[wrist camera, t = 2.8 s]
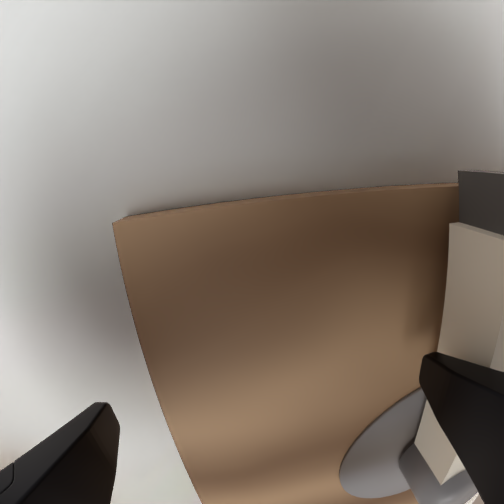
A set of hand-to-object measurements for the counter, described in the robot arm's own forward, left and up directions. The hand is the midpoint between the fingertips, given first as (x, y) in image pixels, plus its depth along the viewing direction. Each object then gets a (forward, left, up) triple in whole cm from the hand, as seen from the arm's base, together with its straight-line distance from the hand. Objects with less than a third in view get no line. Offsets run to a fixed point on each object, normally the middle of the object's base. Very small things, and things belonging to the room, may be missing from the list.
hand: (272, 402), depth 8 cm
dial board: (-5, -6, -2) cm, 9 cm away
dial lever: (-1, -7, -1) cm, 7 cm away
